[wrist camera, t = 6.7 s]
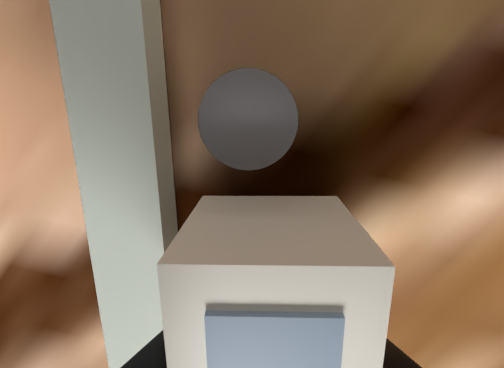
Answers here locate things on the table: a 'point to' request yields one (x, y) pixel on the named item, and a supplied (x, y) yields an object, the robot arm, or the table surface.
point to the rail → (146, 149)
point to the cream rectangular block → (274, 286)
